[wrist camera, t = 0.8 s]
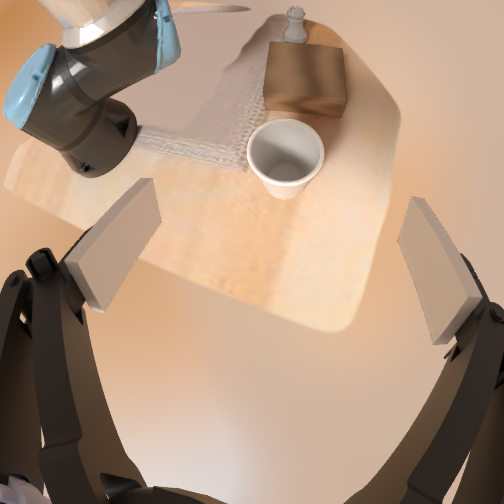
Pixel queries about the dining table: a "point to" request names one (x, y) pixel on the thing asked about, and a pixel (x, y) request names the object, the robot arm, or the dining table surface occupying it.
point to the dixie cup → (285, 156)
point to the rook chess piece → (295, 26)
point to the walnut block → (305, 79)
